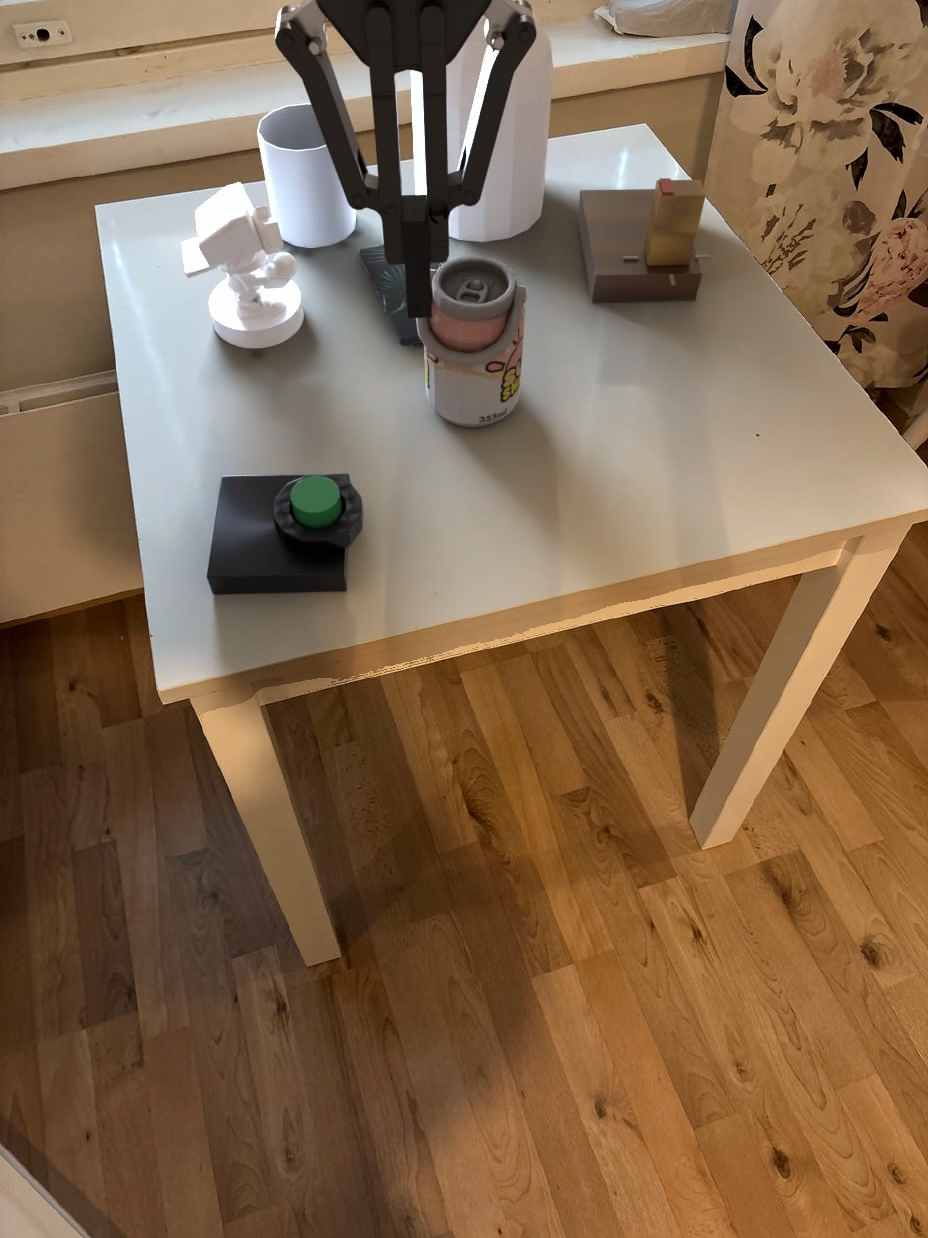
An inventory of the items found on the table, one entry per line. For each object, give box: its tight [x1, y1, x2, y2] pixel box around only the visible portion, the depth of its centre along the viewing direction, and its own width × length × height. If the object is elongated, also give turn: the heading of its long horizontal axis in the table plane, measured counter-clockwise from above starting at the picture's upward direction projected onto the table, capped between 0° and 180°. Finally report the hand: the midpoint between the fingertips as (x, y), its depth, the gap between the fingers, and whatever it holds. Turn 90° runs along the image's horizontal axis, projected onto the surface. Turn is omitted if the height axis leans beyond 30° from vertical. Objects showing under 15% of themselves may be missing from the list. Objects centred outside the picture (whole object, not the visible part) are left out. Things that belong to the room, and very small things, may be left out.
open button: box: [291, 476, 342, 528], centre depth 70 cm, size 4×4×2 cm
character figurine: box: [181, 182, 305, 349], centre depth 84 cm, size 9×10×12 cm
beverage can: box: [416, 255, 528, 428], centre depth 78 cm, size 9×8×12 cm
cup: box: [256, 103, 357, 249], centre depth 93 cm, size 8×8×10 cm
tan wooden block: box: [644, 177, 706, 266], centre depth 87 cm, size 4×2×7 cm, turn 92°
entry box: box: [206, 472, 364, 595], centre depth 72 cm, size 10×11×4 cm
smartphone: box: [358, 244, 440, 347], centre depth 90 cm, size 7×1×15 cm
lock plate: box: [576, 188, 711, 303], centre depth 93 cm, size 16×11×3 cm
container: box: [410, 0, 555, 243], centre depth 91 cm, size 13×13×20 cm
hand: (419, 303), depth 60 cm, fingers closed
